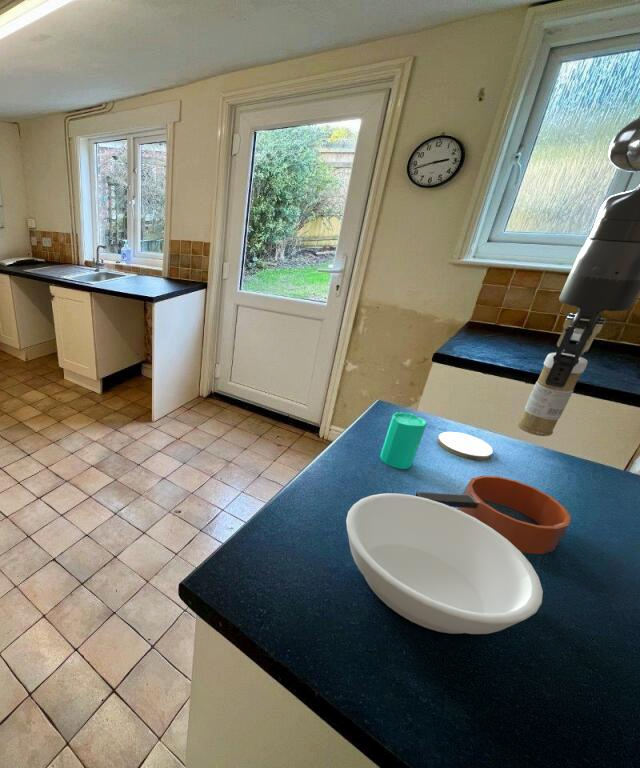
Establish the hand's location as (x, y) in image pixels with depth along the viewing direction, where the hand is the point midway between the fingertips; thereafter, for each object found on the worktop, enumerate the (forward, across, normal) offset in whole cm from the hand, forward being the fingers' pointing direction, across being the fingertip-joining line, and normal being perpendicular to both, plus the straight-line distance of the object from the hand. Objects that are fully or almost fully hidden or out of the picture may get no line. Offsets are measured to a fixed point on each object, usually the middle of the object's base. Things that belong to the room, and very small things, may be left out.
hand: (556, 380), depth 66 cm
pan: (+26, -8, +1) cm, 27 cm away
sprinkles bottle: (+10, 0, 0) cm, 10 cm away
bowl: (+26, -31, +3) cm, 41 cm away
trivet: (+26, +18, +10) cm, 33 cm away
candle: (+26, +1, +18) cm, 31 cm away
